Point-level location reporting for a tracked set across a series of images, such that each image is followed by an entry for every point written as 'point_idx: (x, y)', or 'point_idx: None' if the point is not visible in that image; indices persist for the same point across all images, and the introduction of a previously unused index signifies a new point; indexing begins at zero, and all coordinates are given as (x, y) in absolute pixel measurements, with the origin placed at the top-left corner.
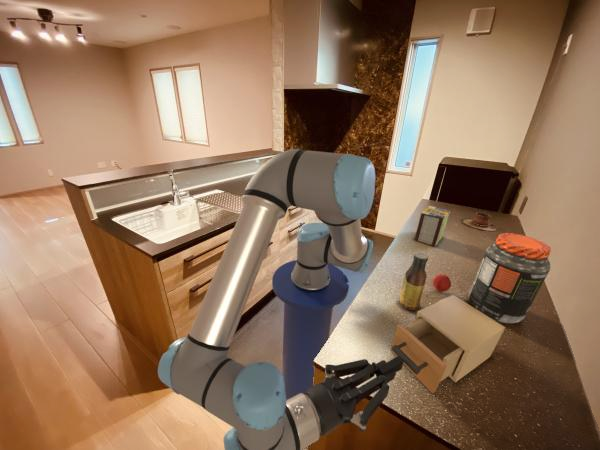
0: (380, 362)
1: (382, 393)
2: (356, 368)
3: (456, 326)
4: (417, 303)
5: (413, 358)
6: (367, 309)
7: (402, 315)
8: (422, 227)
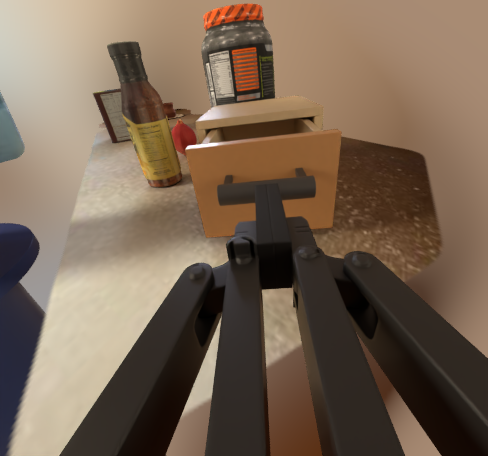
0: (238, 234)
1: (407, 297)
2: (187, 344)
3: (266, 107)
4: (177, 163)
5: None
6: (100, 227)
7: (171, 194)
8: (110, 117)
